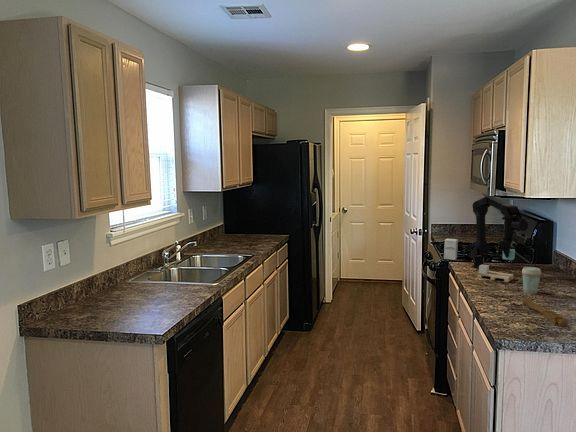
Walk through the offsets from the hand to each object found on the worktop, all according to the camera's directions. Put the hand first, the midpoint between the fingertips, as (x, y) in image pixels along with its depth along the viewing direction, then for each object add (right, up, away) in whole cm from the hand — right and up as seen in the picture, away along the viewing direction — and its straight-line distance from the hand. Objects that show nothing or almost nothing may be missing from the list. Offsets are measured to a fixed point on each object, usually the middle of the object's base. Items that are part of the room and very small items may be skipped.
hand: (508, 256), depth 260 cm
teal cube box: (0, -1, 0) cm, 1 cm away
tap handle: (-13, -20, -59) cm, 64 cm away
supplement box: (-15, -6, +48) cm, 51 cm away
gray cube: (-13, -9, +1) cm, 16 cm away
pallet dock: (-8, -12, -1) cm, 14 cm away
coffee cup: (-2, -15, -28) cm, 32 cm away
